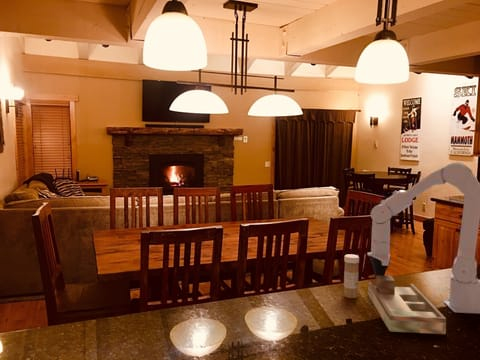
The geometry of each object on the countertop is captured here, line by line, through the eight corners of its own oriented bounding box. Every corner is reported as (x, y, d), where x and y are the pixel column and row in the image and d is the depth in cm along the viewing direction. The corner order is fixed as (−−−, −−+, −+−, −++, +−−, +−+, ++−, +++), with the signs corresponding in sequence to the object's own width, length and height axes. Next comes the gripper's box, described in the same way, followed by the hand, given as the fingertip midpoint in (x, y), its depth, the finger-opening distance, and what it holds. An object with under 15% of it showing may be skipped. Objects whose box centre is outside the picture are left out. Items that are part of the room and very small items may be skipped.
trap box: (412, 296, 128) (412, 283, 127) (445, 334, 102) (446, 318, 102) (368, 294, 129) (368, 282, 129) (389, 331, 104) (390, 315, 103)
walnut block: (390, 289, 126) (390, 275, 125) (394, 294, 121) (395, 280, 121) (375, 288, 126) (376, 275, 126) (379, 294, 122) (379, 280, 121)
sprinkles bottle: (351, 292, 131) (352, 253, 130) (361, 297, 127) (362, 256, 126) (340, 294, 129) (341, 254, 128) (349, 299, 125) (351, 258, 124)
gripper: (363, 235, 138) (362, 273, 139) (373, 245, 123) (371, 287, 124) (384, 235, 137) (383, 273, 138) (396, 246, 122) (394, 288, 124)
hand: (379, 280), depth 131 cm, fingers closed
